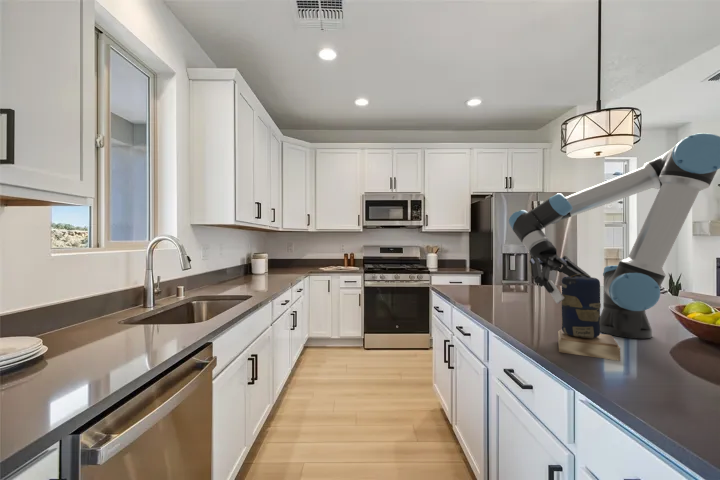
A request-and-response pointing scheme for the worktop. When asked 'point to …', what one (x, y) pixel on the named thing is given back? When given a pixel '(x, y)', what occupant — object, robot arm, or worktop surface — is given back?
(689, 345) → the worktop surface
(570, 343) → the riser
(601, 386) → the worktop surface
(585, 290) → the canister
